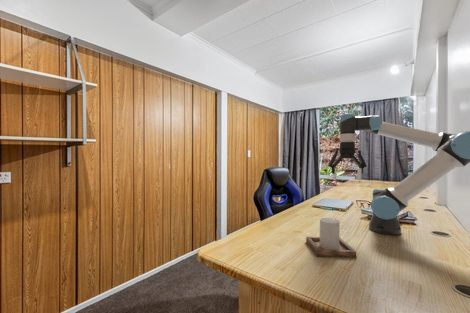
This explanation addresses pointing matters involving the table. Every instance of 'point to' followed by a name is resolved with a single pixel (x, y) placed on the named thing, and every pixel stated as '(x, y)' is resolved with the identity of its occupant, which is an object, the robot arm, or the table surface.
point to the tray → (343, 250)
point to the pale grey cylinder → (329, 233)
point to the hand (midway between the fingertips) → (347, 179)
